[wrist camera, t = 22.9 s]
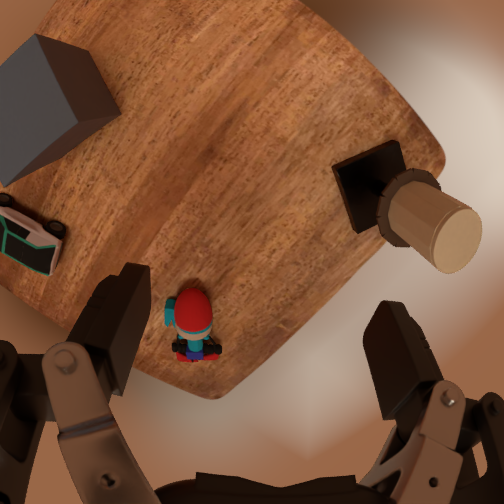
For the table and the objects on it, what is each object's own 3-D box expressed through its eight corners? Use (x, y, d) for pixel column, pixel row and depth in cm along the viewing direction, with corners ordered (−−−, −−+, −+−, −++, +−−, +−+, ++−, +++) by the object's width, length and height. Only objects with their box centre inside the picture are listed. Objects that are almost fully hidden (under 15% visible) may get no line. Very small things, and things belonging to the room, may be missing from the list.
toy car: (61, 265, 35) (46, 287, 31) (-5, 228, 31) (-26, 245, 26) (72, 227, 33) (55, 247, 29) (1, 190, 29) (-21, 204, 25)
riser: (28, 98, 25) (-35, 105, 15) (88, 50, 24) (35, 32, 14) (60, 158, 29) (3, 188, 19) (121, 114, 29) (78, 122, 18)
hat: (367, 188, 27) (415, 220, 20) (433, 157, 26) (488, 179, 19) (386, 258, 31) (426, 301, 24) (444, 225, 30) (490, 259, 23)
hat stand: (331, 166, 34) (408, 215, 20) (392, 139, 34) (486, 173, 19) (352, 229, 39) (421, 301, 24) (408, 201, 38) (489, 257, 24)
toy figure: (222, 349, 47) (222, 278, 38) (222, 376, 43) (220, 308, 34) (174, 347, 46) (161, 276, 37) (171, 373, 42) (153, 305, 34)
